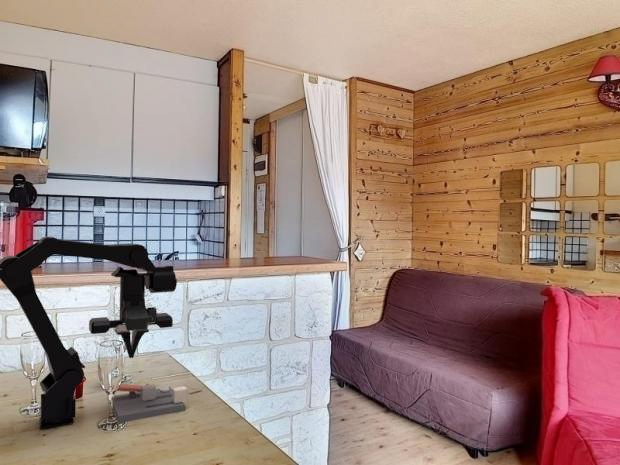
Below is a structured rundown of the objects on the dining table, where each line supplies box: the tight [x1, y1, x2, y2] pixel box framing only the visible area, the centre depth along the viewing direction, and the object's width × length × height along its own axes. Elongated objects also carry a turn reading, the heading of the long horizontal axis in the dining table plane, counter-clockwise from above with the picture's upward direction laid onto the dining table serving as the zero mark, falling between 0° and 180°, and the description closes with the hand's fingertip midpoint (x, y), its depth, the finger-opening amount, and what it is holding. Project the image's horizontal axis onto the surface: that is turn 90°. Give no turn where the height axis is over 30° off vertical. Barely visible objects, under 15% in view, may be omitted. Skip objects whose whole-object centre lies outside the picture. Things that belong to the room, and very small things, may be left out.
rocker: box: [116, 383, 151, 393], centre depth 116 cm, size 9×3×1 cm, turn 121°
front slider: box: [171, 385, 188, 403], centre depth 113 cm, size 3×2×3 cm
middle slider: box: [141, 383, 157, 401], centre depth 114 cm, size 3×2×3 cm
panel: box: [112, 386, 186, 423], centre depth 114 cm, size 15×14×3 cm
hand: (131, 357), depth 114 cm, fingers closed
